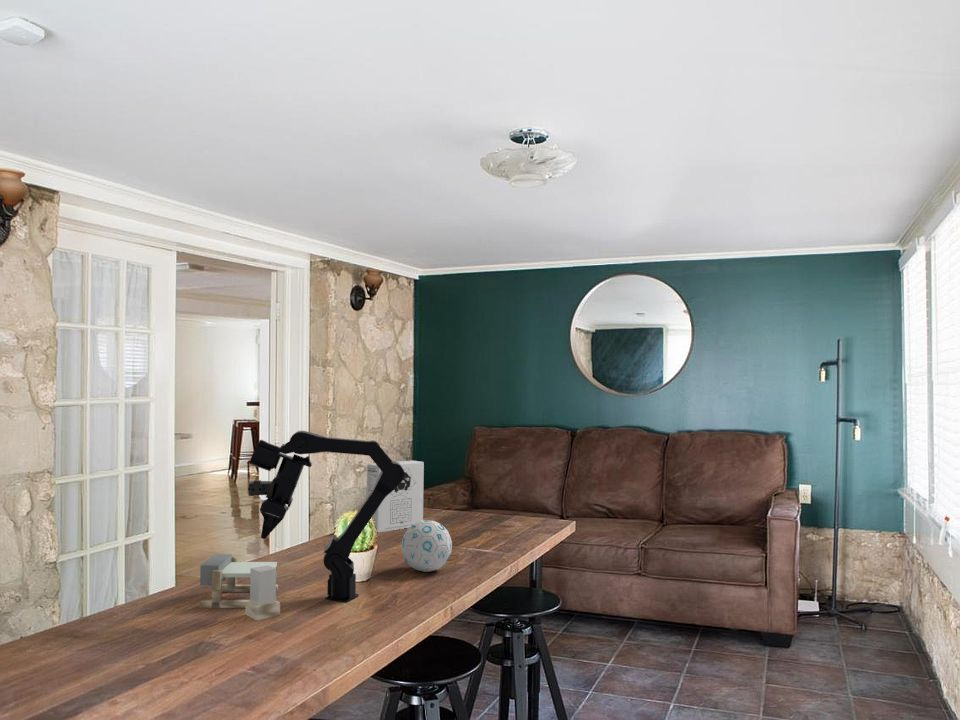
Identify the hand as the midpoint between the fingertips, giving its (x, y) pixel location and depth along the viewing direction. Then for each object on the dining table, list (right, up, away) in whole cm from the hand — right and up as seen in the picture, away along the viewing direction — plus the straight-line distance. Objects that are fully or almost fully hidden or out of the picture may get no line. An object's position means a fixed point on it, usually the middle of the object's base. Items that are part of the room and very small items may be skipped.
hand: (265, 534), depth 198 cm
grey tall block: (+3, -13, -12) cm, 18 cm away
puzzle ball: (+39, -18, +32) cm, 54 cm away
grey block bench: (-7, -17, +1) cm, 18 cm away
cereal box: (+23, -20, +97) cm, 102 cm away
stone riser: (+3, -17, -12) cm, 21 cm away
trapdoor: (-7, -12, +1) cm, 14 cm away
